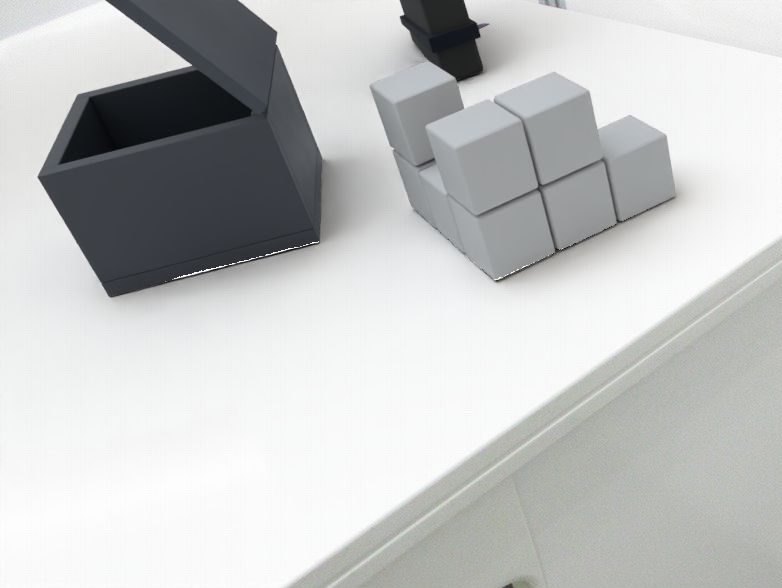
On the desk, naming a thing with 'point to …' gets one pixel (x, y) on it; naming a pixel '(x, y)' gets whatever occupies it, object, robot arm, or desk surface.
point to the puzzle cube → (518, 164)
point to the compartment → (183, 177)
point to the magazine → (444, 34)
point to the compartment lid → (213, 41)
